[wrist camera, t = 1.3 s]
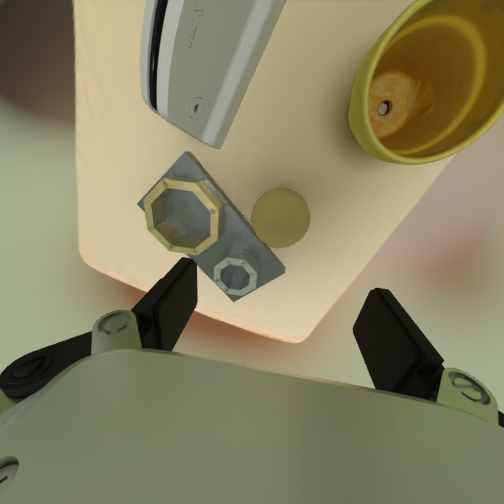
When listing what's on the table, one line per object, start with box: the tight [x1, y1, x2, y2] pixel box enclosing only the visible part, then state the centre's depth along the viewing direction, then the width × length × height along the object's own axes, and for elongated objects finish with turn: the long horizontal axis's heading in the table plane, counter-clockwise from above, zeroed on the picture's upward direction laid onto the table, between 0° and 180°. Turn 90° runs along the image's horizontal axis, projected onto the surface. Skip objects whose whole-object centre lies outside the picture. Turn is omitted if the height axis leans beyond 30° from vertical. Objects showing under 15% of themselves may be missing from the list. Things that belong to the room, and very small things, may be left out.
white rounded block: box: [140, 0, 286, 149], centre depth 19 cm, size 17×5×10 cm, turn 150°
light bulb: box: [251, 189, 310, 248], centre depth 24 cm, size 6×6×10 cm
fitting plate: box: [137, 152, 285, 302], centre depth 30 cm, size 11×22×4 cm, turn 39°
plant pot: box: [348, 0, 504, 165], centre depth 18 cm, size 10×10×10 cm
